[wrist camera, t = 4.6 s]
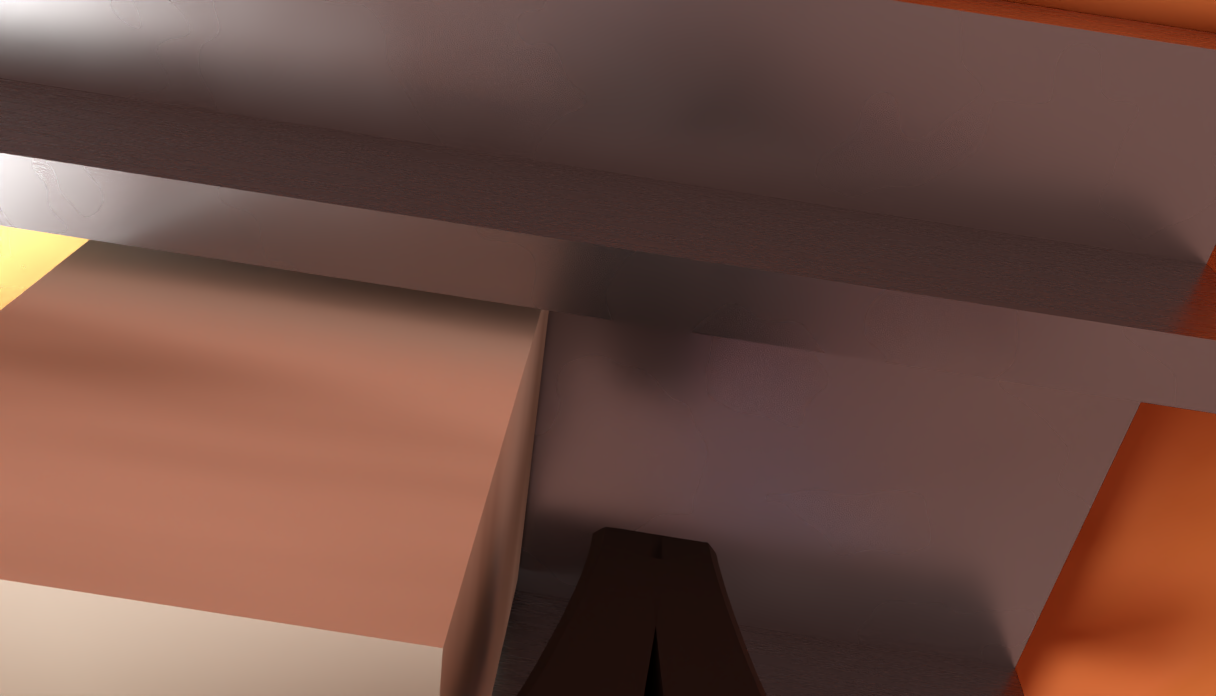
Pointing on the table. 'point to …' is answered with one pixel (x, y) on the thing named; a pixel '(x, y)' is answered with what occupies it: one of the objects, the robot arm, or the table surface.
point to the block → (258, 481)
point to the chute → (702, 265)
